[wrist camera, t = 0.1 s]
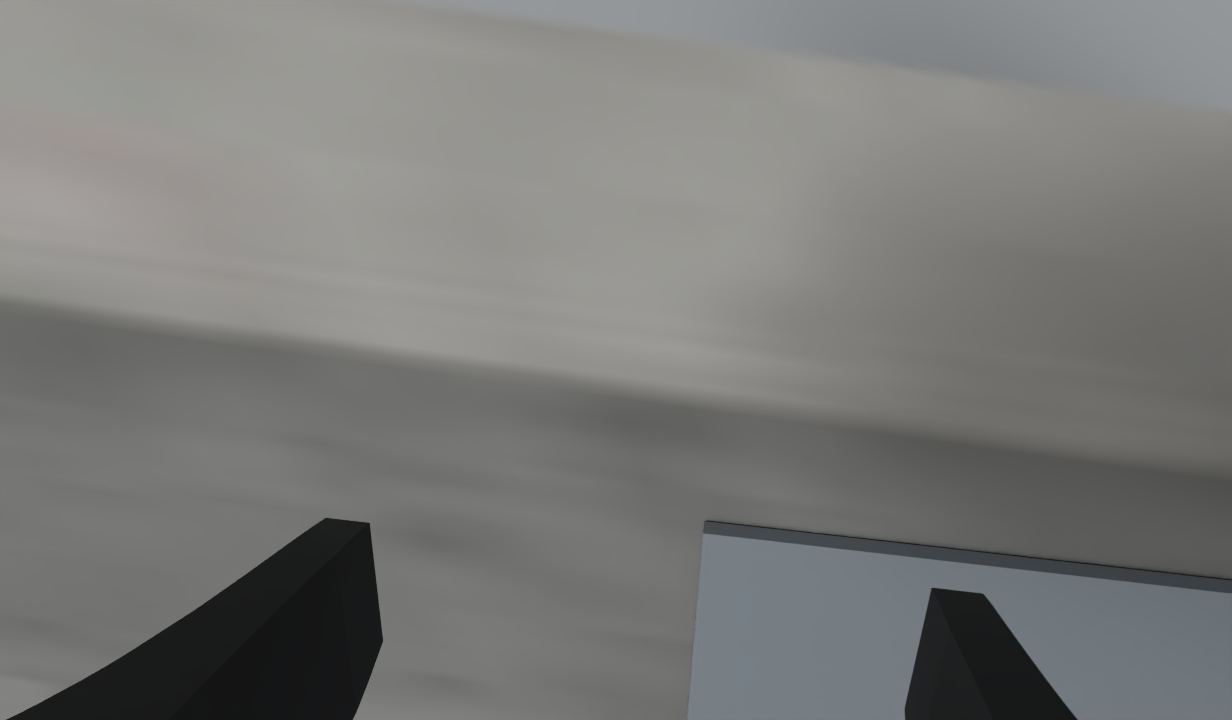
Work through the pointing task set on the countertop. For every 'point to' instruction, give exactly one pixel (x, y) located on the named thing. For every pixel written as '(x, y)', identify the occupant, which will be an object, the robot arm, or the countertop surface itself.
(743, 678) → the slate mat
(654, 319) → the countertop surface
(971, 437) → the countertop surface
